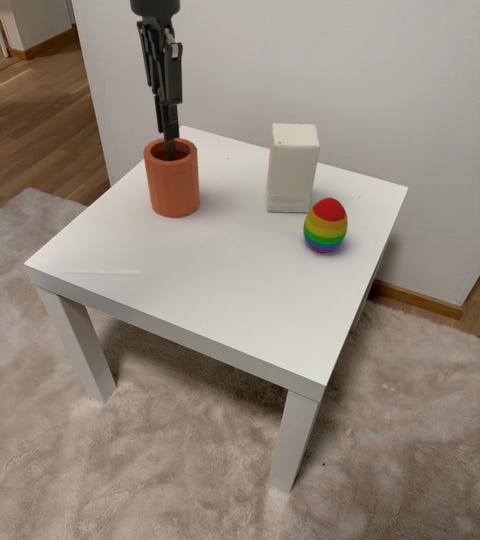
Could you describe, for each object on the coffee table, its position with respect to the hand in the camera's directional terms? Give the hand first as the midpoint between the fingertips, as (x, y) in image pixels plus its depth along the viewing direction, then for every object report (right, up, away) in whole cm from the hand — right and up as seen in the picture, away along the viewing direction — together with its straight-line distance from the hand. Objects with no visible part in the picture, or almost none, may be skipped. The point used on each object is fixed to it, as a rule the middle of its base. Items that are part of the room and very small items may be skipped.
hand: (168, 134), depth 83 cm
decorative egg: (+29, -20, +4) cm, 36 cm away
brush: (0, -9, +11) cm, 14 cm away
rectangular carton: (+24, -9, +13) cm, 29 cm away
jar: (0, -10, +12) cm, 15 cm away
